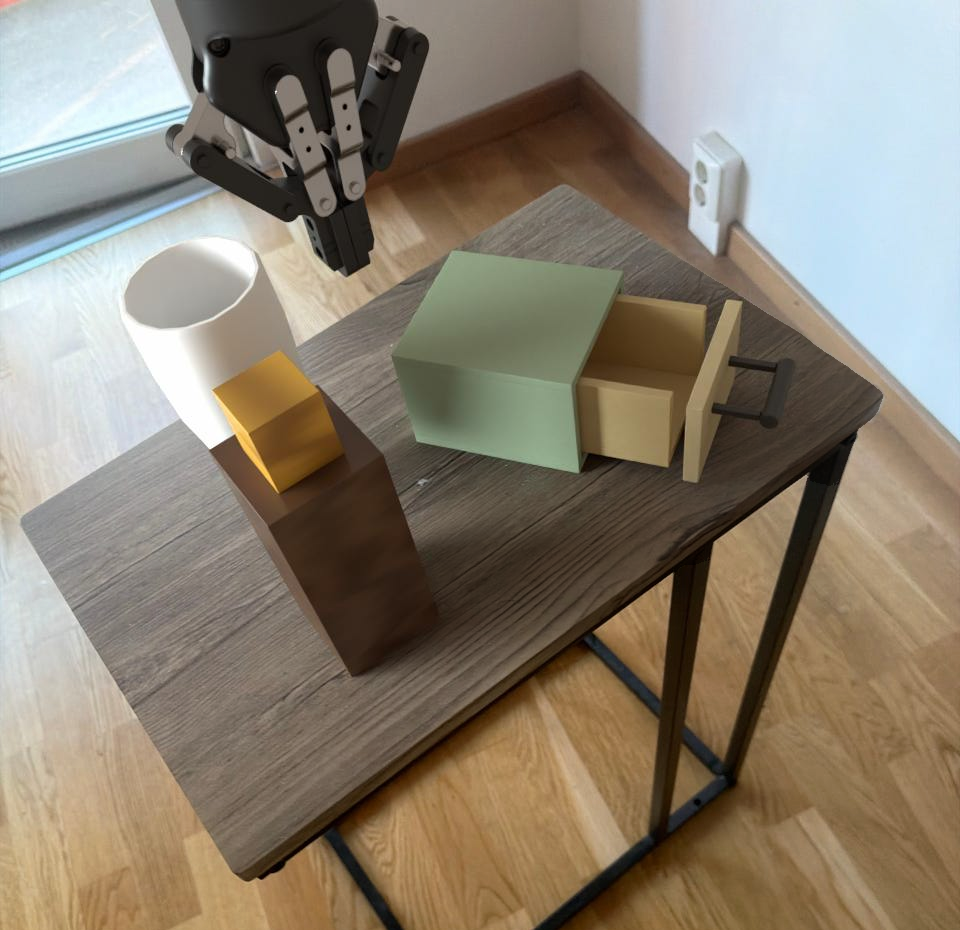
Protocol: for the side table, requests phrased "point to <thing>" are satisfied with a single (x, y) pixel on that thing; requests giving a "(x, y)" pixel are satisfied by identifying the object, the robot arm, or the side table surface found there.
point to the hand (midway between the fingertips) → (350, 263)
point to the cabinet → (504, 356)
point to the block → (279, 420)
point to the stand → (340, 545)
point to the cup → (204, 324)
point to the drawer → (667, 382)
